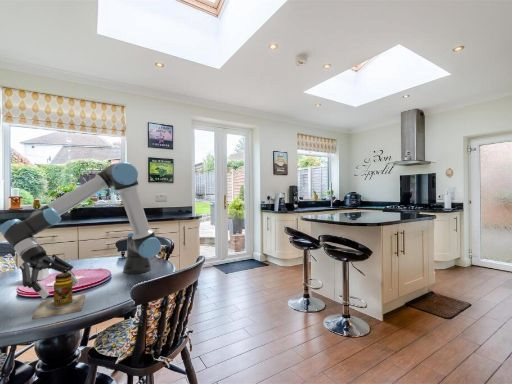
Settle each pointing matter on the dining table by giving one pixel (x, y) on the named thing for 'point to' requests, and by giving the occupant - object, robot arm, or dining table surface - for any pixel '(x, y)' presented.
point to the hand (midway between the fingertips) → (62, 290)
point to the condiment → (62, 291)
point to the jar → (41, 273)
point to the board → (50, 311)
